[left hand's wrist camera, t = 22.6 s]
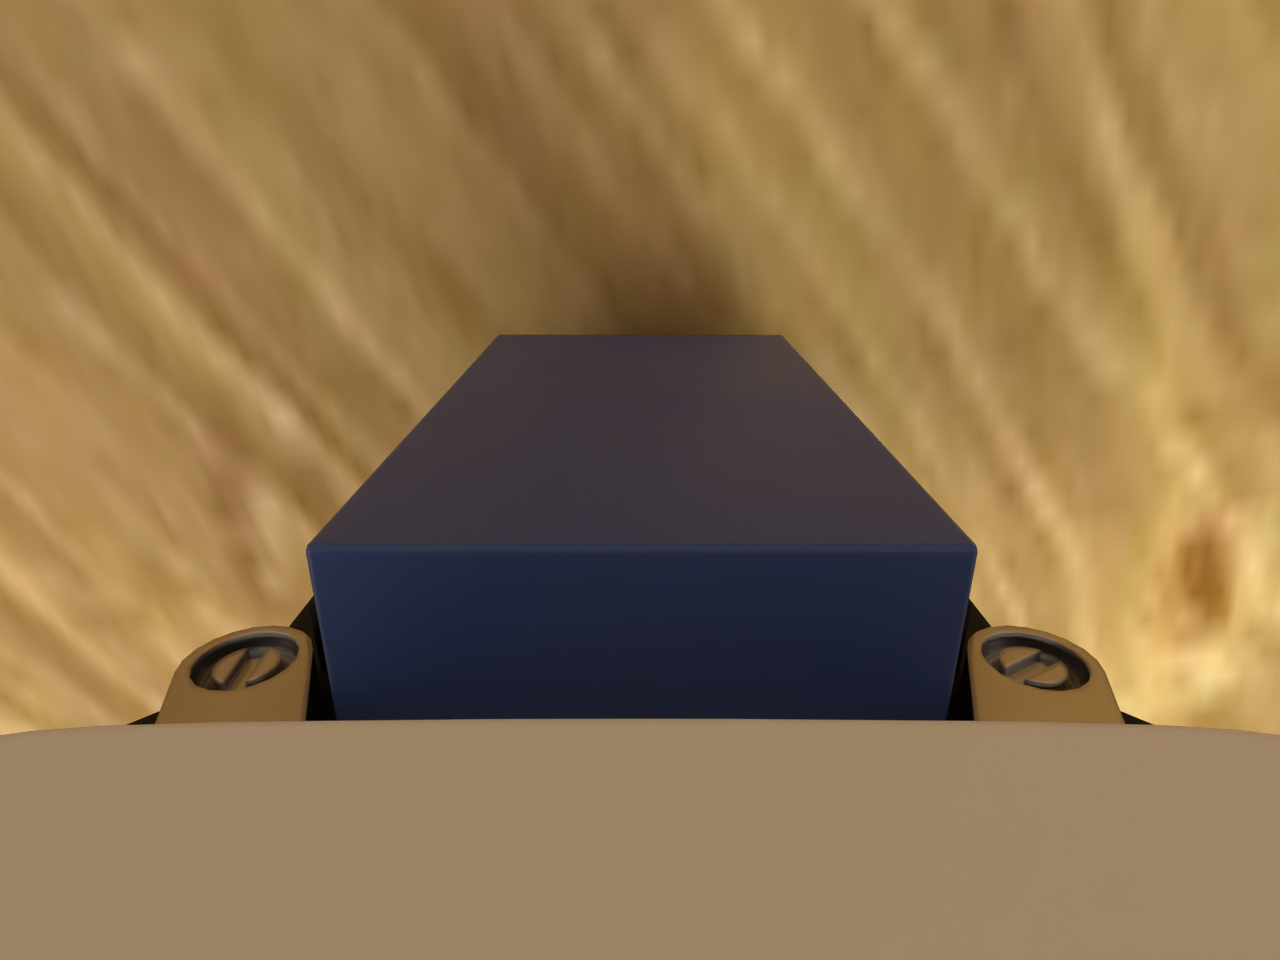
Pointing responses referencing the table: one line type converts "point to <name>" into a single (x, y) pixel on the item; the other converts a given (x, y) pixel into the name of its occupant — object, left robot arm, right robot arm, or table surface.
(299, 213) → the table surface
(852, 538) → the block
